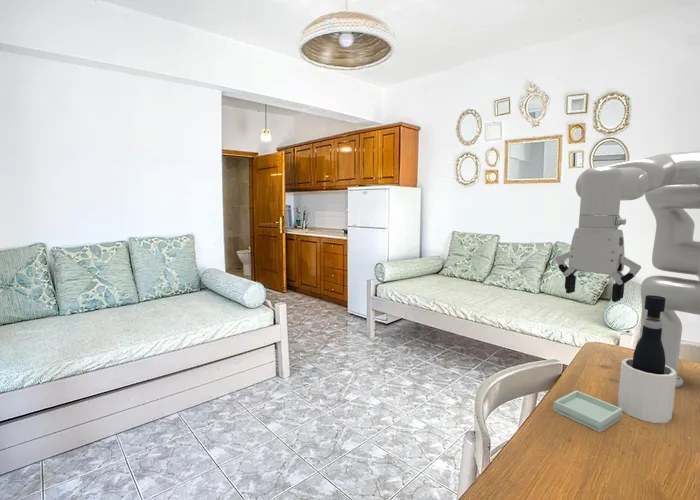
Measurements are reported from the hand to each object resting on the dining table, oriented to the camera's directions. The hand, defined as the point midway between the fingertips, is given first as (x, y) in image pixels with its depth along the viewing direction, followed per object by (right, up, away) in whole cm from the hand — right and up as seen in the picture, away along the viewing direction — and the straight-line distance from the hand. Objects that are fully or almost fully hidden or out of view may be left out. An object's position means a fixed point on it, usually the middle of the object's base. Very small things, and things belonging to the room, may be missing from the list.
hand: (592, 296), depth 88 cm
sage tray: (+3, -31, +7) cm, 32 cm away
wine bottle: (+19, -31, +9) cm, 37 cm away
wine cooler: (+19, -31, +9) cm, 37 cm away
